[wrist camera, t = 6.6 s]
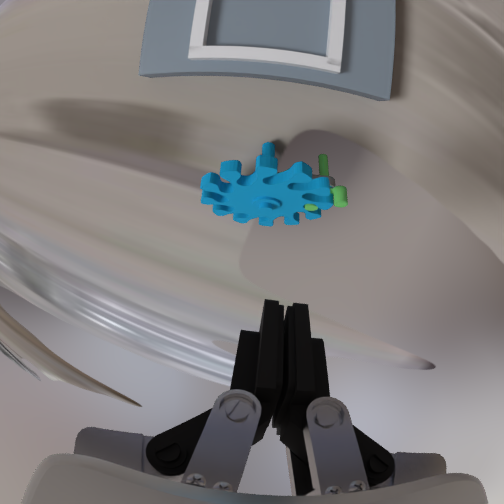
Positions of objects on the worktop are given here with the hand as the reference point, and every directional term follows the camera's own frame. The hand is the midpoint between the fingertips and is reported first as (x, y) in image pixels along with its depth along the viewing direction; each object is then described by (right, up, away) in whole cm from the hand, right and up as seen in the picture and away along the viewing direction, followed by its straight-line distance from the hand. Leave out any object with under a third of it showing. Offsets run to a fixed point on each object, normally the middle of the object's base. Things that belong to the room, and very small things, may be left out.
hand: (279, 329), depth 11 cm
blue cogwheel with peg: (+1, +8, +15) cm, 17 cm away
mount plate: (+1, +25, +4) cm, 25 cm away
